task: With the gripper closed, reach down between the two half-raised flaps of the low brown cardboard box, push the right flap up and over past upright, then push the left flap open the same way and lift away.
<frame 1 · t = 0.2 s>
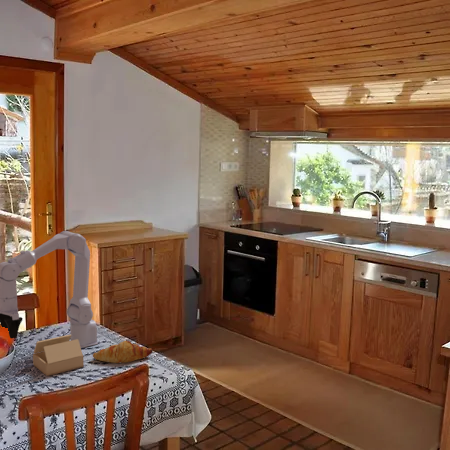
hand: (9, 334, 190), 10 cm above the table, tool pointing down, fingers open, 7 cm apart
carton: (58, 365, 189), on the table
flap 2: (63, 351, 185), point 7 cm above the table, hinge at 55.0°
flap 1: (52, 343, 191), point 7 cm above the table, hinge at 55.0°
croissant: (122, 359, 197), on the table
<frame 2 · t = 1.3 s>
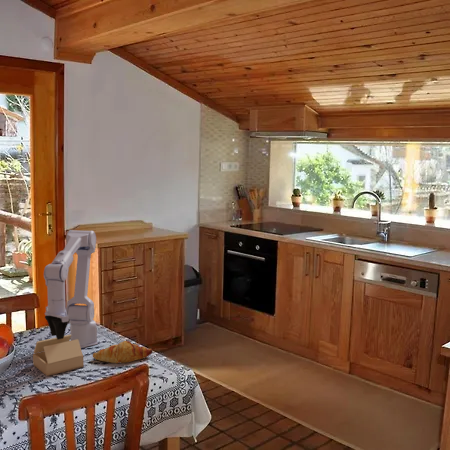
hand: (57, 337, 188), 10 cm above the table, tool pointing down, fingers open, 4 cm apart
nothing on the table moved.
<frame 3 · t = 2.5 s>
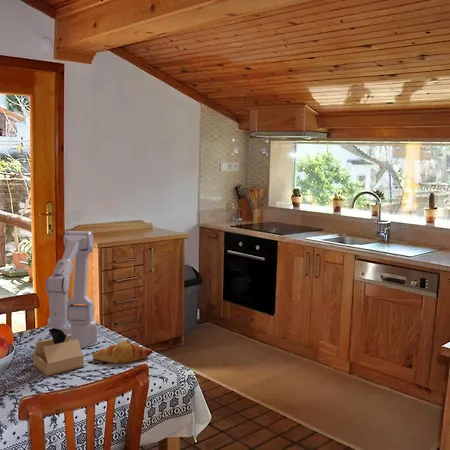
hand: (59, 348, 187), 7 cm above the table, tool pointing down, fingers closed, pressing on flap 2
flap 2: (63, 351, 185), point 7 cm above the table, hinge at 55.0°, touching gripper
everything else where it was.
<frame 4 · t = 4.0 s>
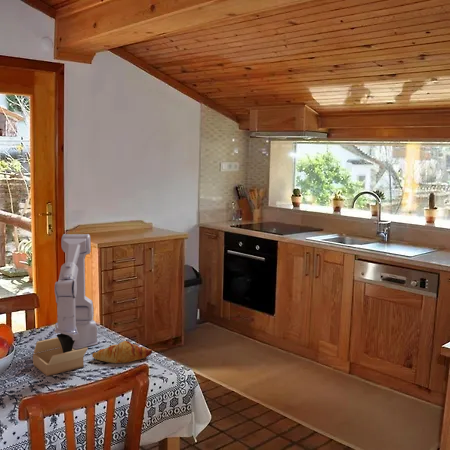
hand: (67, 354, 182), 6 cm above the table, tool pointing down, fingers closed
flap 2: (68, 356, 182), point 6 cm above the table, hinge at 132.8°, touching gripper
everything else where it was.
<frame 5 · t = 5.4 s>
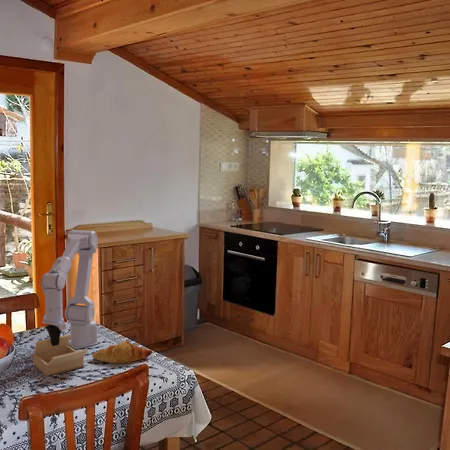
hand: (55, 345, 190), 7 cm above the table, tool pointing down, fingers closed, pressing on flap 1
flap 2: (68, 357, 182), point 6 cm above the table, hinge at 138.4°
flap 1: (52, 343, 192), point 7 cm above the table, hinge at 56.4°, touching gripper
everything else where it was.
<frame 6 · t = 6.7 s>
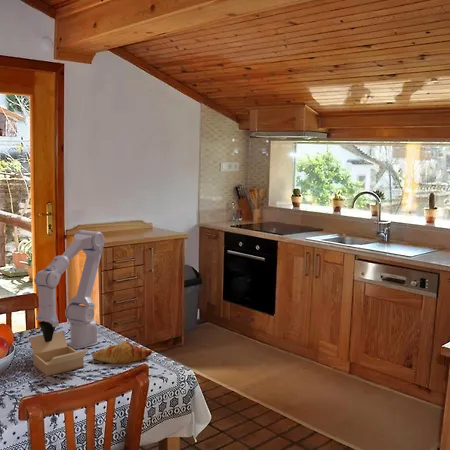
hand: (48, 341, 194), 7 cm above the table, tool pointing down, fingers closed
flap 2: (68, 357, 182), point 6 cm above the table, hinge at 139.0°
flap 1: (48, 342, 194), point 6 cm above the table, hinge at 128.5°, touching gripper
everything else where it was.
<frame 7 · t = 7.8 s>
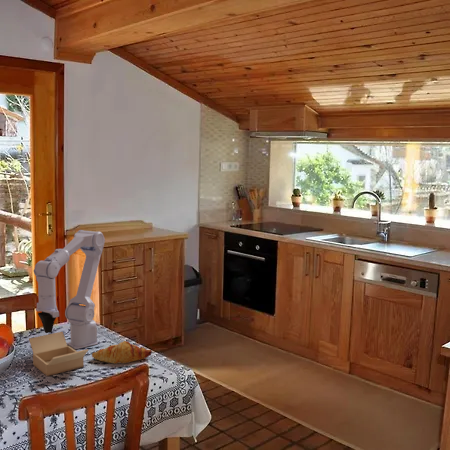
hand: (48, 332, 192), 10 cm above the table, tool pointing down, fingers closed
flap 1: (48, 342, 194), point 6 cm above the table, hinge at 133.9°
everything else where it was.
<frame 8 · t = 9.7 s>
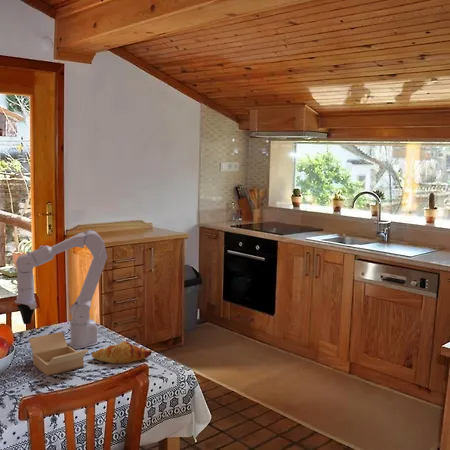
hand: (27, 323, 201), 10 cm above the table, tool pointing down, fingers closed
flap 1: (48, 342, 195), point 6 cm above the table, hinge at 135.0°
everything else where it was.
at the end: flap 2 at +139° (first picture: +55°); flap 1 at +135° (first picture: +55°) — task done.
